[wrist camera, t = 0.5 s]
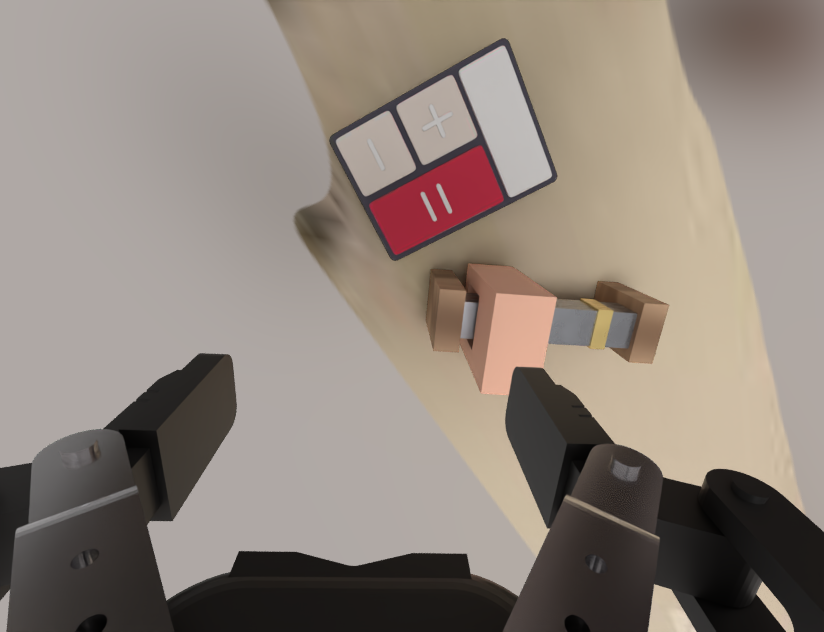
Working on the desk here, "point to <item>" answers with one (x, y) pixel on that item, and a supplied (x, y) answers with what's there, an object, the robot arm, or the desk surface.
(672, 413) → the desk surface
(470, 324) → the grey metal bar
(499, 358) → the collar
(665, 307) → the stand
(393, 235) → the calculator
